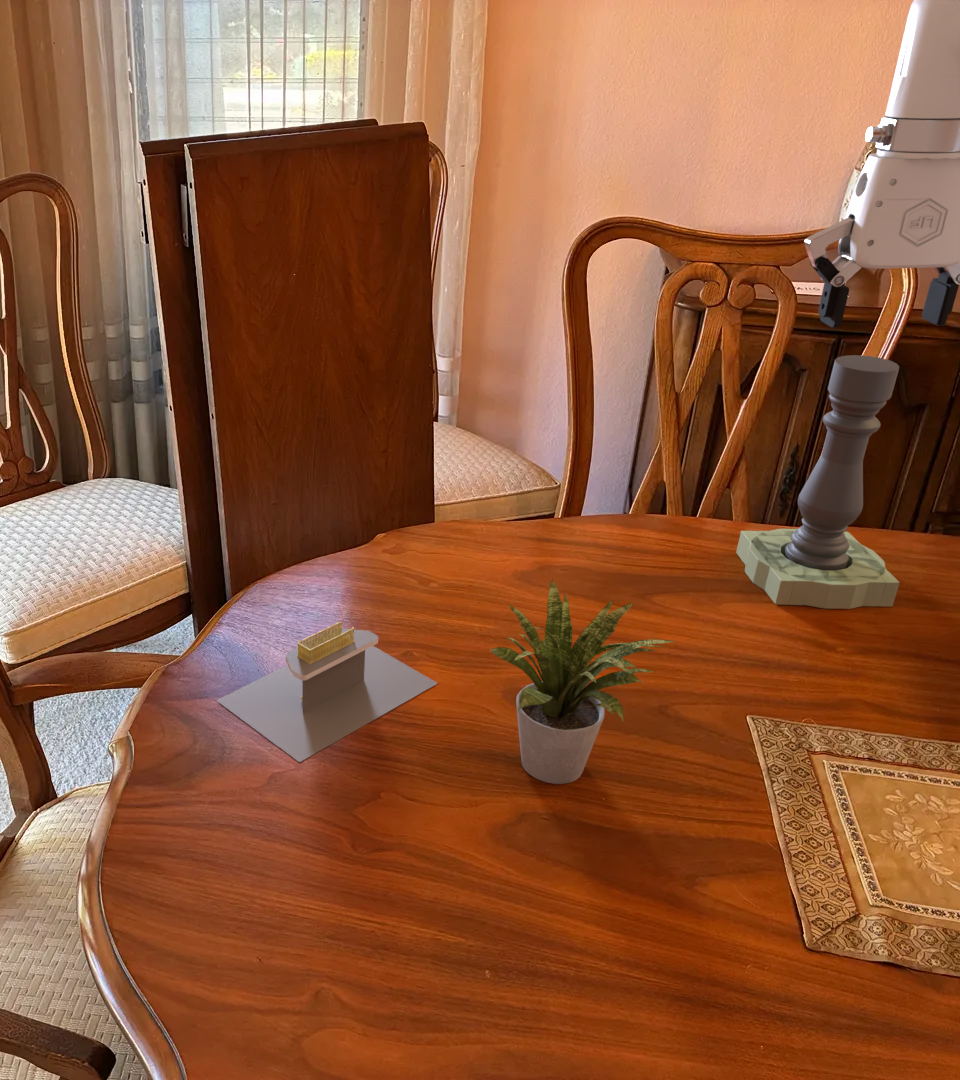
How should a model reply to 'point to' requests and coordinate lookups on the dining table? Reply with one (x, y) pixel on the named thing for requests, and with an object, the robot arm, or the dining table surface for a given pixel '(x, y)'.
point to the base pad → (815, 574)
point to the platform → (325, 691)
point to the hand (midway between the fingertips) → (881, 323)
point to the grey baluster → (841, 462)
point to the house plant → (568, 688)
